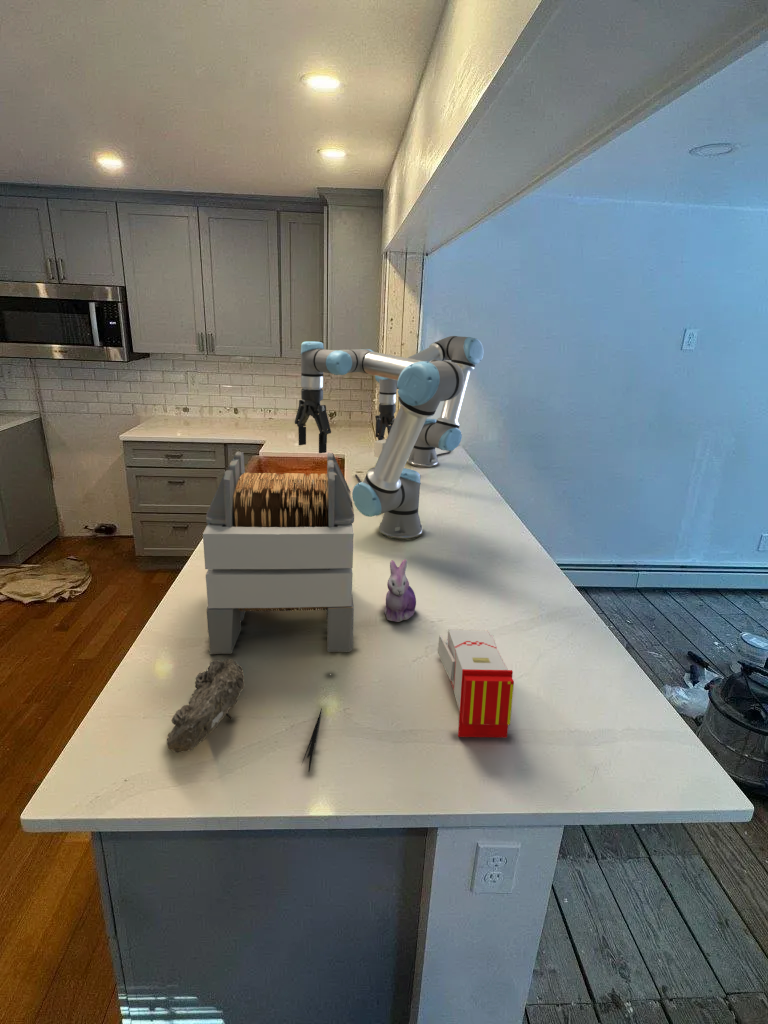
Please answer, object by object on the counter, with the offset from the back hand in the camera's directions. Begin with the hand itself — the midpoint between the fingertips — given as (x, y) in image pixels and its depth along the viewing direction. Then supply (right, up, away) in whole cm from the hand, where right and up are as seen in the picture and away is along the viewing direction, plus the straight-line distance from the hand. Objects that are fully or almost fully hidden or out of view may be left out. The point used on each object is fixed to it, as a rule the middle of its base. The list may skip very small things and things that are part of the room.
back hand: (385, 454), depth 257 cm
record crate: (-26, -53, -113) cm, 127 cm away
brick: (0, -1, 0) cm, 1 cm away
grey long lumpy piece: (-34, -65, -149) cm, 165 cm away
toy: (+17, -64, -138) cm, 153 cm away
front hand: (-26, -3, -54) cm, 61 cm away
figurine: (+3, -53, -109) cm, 121 cm away
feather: (-13, -66, -148) cm, 162 cm away
